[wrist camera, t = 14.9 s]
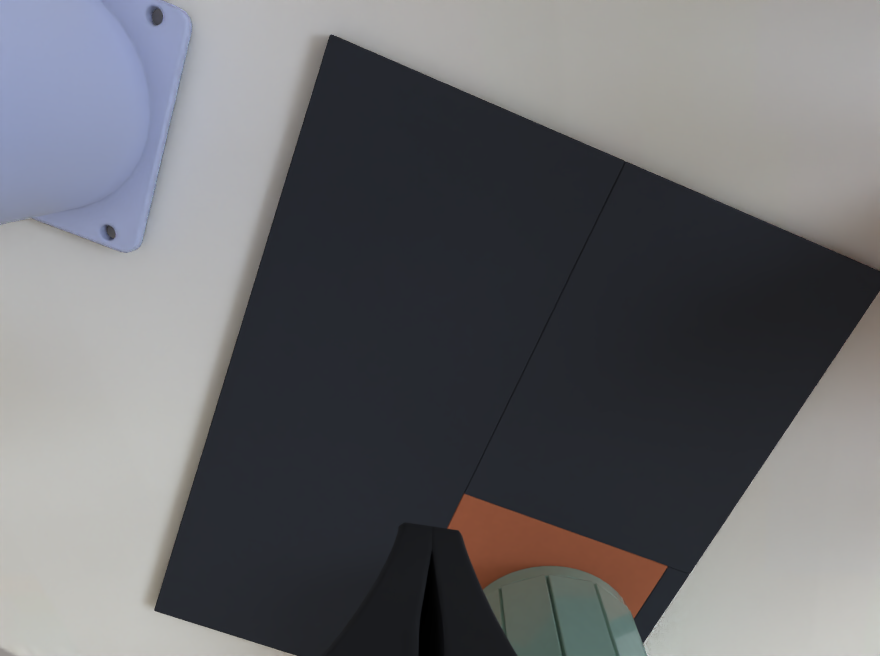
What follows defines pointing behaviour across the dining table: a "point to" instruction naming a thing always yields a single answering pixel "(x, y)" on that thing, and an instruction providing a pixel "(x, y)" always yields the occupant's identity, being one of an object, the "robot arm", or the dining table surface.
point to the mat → (490, 363)
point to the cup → (563, 614)
